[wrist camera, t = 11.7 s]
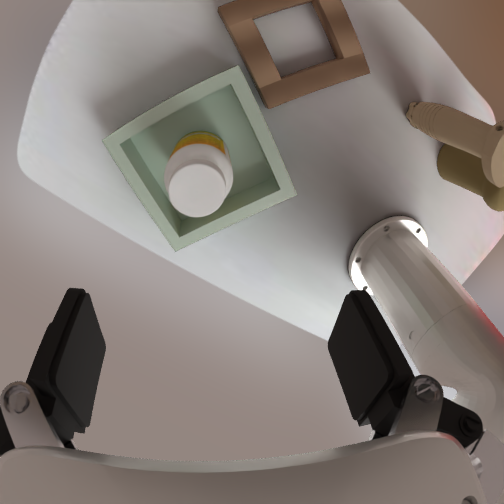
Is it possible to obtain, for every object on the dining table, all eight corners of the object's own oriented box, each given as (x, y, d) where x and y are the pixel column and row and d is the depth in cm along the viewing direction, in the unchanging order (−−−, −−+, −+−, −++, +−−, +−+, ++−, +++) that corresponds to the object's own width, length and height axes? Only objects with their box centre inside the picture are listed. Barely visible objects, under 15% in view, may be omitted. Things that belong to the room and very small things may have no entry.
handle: (387, 112, 29) (485, 153, 16) (422, 82, 27) (523, 111, 14) (407, 144, 31) (497, 198, 18) (439, 115, 29) (533, 156, 17)
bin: (286, 178, 32) (297, 195, 28) (178, 229, 33) (175, 251, 30) (234, 66, 25) (238, 65, 21) (116, 130, 26) (101, 140, 23)
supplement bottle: (237, 165, 29) (250, 205, 21) (190, 190, 30) (184, 239, 22) (211, 118, 26) (212, 139, 18) (162, 146, 27) (143, 180, 19)
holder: (361, 72, 26) (370, 73, 24) (265, 107, 27) (269, 109, 26) (321, -20, 20) (328, -25, 18) (217, 11, 21) (218, 7, 20)
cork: (461, 183, 35) (513, 220, 26) (432, 178, 34) (488, 218, 25) (471, 143, 31) (528, 174, 22) (442, 135, 30) (504, 166, 21)
